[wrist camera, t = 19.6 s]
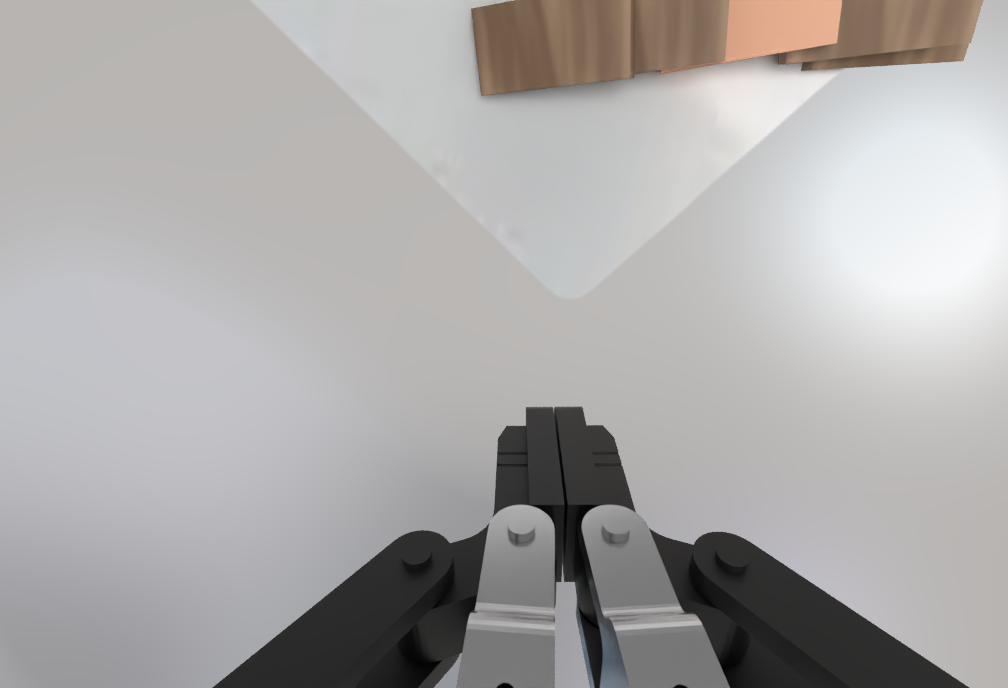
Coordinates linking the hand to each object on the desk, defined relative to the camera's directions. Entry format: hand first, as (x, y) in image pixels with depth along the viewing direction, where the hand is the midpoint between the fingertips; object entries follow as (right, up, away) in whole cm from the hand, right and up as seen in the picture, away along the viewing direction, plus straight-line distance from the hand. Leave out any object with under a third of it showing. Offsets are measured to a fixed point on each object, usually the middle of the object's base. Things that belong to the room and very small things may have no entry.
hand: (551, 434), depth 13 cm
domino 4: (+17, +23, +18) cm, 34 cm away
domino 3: (+9, +23, +20) cm, 32 cm away
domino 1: (-3, +22, +20) cm, 30 cm away
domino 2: (+3, +23, +20) cm, 30 cm away
